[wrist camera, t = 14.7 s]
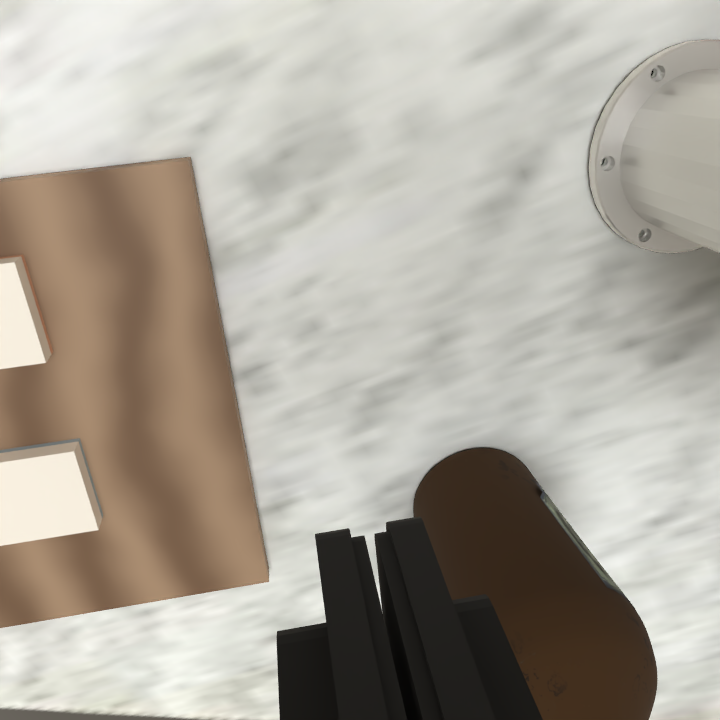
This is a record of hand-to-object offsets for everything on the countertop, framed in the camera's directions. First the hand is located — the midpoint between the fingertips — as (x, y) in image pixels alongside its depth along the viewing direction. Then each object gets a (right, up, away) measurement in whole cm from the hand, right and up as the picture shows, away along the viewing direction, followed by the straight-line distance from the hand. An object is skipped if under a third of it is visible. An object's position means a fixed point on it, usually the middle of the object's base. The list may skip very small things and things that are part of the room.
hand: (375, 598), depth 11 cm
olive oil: (+8, -7, +41) cm, 42 cm away
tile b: (-18, -4, +33) cm, 38 cm away
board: (-20, 0, +33) cm, 39 cm away
